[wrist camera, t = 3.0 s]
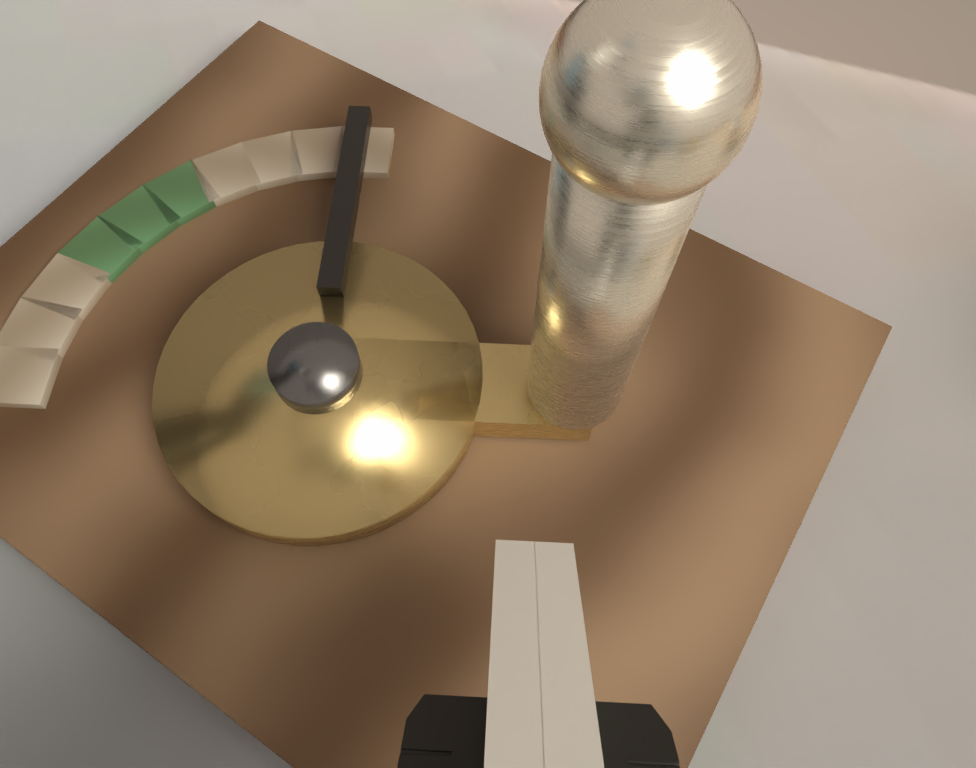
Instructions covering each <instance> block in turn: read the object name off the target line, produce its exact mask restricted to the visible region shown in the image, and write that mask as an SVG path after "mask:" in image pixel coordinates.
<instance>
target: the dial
mask: <svg viewBox="0 0 976 768" xmlns="http://www.w3.org/2000/svg"><path fill="white" fill-rule="evenodd" d="M761 92H762V64H761V59H760V53H759V49H758V45H757V42H756V39H755V37H754V34H753V32H752V30H751V27H750V25H749V23H748V22H747V20H746V19H745V17H744V16H743V14H742V13H741V11H740V10H739V8H738V7H737V6H736V5H735V4H734V3H733V2H732V1H731V0H583V1H582V2H581V3H580V4H579V5H578V6H577V7H576V8H575V9H574V10H573V11H572V12H571V13H570V15H569V16H568V17H567V19H566V20H565V21H564V23H563V24H562V26H561V27H560V28H559V30H558V32H557V33H556V35H555V37H554V39H553V41H552V43H551V45H550V47H549V49H548V52H547V55H546V58H545V61H544V65H543V68H542V73H541V79H540V86H539V110H540V117H541V123H542V127H543V131H544V134H545V137H546V139H547V142H548V144H549V147H550V149H551V151H552V159H551V168H550V177H549V186H548V195H547V204H546V213H545V222H544V231H543V240H542V249H541V258H540V267H539V276H538V284H537V293H536V302H535V311H534V320H533V329H532V338H531V345H518V344H494V343H479V341H478V338H477V335H476V332H475V329H474V326H473V324H472V322H471V320H470V318H469V316H468V314H467V312H466V310H465V308H464V307H463V305H462V304H461V303H460V301H459V300H458V298H457V297H456V295H455V294H454V293H453V292H452V291H451V290H450V289H449V288H448V286H447V285H446V284H445V283H444V282H443V281H442V280H440V279H439V278H438V277H437V276H436V275H434V274H433V273H432V272H431V271H430V270H428V269H427V268H425V267H423V266H422V265H420V264H419V263H417V262H416V261H414V260H412V259H410V258H408V257H406V256H403V255H401V254H399V253H397V252H394V251H391V250H388V249H385V248H382V247H379V246H374V245H369V244H365V243H359V242H353V238H354V231H355V225H356V219H357V212H358V206H359V200H360V193H361V187H362V181H363V174H364V168H365V162H366V155H367V149H368V143H369V136H370V130H371V124H372V113H371V108H370V106H349V107H348V113H347V118H346V124H345V129H344V135H343V141H342V146H341V152H340V157H339V163H338V168H337V174H336V180H335V185H334V191H333V196H332V202H331V208H330V213H329V219H328V224H327V230H326V236H325V241H318V242H310V243H302V244H297V245H293V246H289V247H284V248H281V249H278V250H275V251H272V252H269V253H266V254H263V255H261V256H259V257H257V258H254V259H252V260H250V261H248V262H246V263H244V264H242V265H240V266H239V267H237V268H235V269H234V270H232V271H230V272H229V273H227V274H226V275H224V276H223V277H222V278H220V279H219V280H218V281H216V282H215V283H214V284H212V285H211V286H210V287H209V288H208V289H207V290H206V291H205V292H203V293H202V294H201V295H200V296H199V297H198V298H197V299H196V300H195V301H194V303H193V304H192V305H191V306H190V307H189V308H188V310H187V311H186V312H185V313H184V314H183V316H182V317H181V319H180V320H179V322H178V323H177V325H176V326H175V328H174V329H173V331H172V333H171V335H170V337H169V338H168V340H167V342H166V344H165V346H164V348H163V351H162V354H161V357H160V360H159V363H158V365H157V369H156V374H155V379H154V384H153V395H152V413H153V424H154V429H155V433H156V437H157V441H158V445H159V447H160V449H161V452H162V454H163V456H164V459H165V461H166V463H167V465H168V466H169V468H170V469H171V471H172V473H173V474H174V476H175V477H176V479H177V480H178V481H179V483H180V484H181V485H182V486H183V487H184V488H185V489H186V490H187V492H188V493H189V494H190V495H191V496H192V497H193V498H195V499H196V500H197V501H198V502H199V503H201V504H202V505H203V506H204V507H206V508H207V509H208V510H209V511H211V512H212V513H213V514H214V515H216V516H217V517H218V518H219V519H221V520H222V521H224V522H226V523H227V524H229V525H231V526H232V527H234V528H236V529H237V530H239V531H242V532H244V533H247V534H249V535H251V536H254V537H256V538H259V539H263V540H267V541H271V542H275V543H279V544H287V545H295V546H326V545H333V544H340V543H347V542H350V541H354V540H357V539H361V538H365V537H368V536H371V535H373V534H375V533H378V532H380V531H383V530H385V529H387V528H390V527H392V526H393V525H395V524H397V523H399V522H400V521H402V520H404V519H406V518H407V517H409V516H411V515H412V514H413V513H415V512H416V511H417V510H419V509H420V508H421V507H423V506H424V505H425V504H427V503H428V502H429V501H430V500H431V499H432V498H433V497H434V496H435V495H436V494H437V493H438V492H439V491H440V490H441V489H442V488H443V487H444V486H445V485H446V483H447V482H448V481H449V480H450V478H451V477H452V476H453V475H454V473H455V472H456V471H457V469H458V468H459V466H460V464H461V463H462V461H463V459H464V458H465V456H466V454H467V452H468V450H469V448H470V445H471V443H472V441H473V438H474V436H494V437H516V438H538V439H560V440H582V441H589V438H590V435H591V432H592V429H593V427H595V426H597V425H599V424H601V423H603V422H604V421H606V420H607V419H608V418H609V417H610V416H611V415H612V414H613V413H614V412H615V410H616V409H617V407H618V405H619V403H620V400H621V398H622V395H623V393H624V390H625V388H626V385H627V383H628V380H629V378H630V375H631V373H632V370H633V368H634V365H635V363H636V360H637V358H638V355H639V353H640V350H641V348H642V345H643V343H644V340H645V338H646V335H647V333H648V330H649V328H650V325H651V323H652V320H653V318H654V315H655V313H656V310H657V308H658V305H659V303H660V300H661V298H662V295H663V293H664V290H665V288H666V285H667V283H668V280H669V278H670V275H671V273H672V270H673V268H674V266H675V263H676V261H677V258H678V256H679V253H680V251H681V248H682V246H683V243H684V241H685V238H686V236H687V233H688V231H689V228H690V226H691V223H692V221H693V218H694V216H695V213H696V211H697V208H698V206H699V203H700V201H701V198H702V196H703V193H704V191H705V188H706V186H707V184H709V183H710V182H711V181H713V180H714V179H715V178H716V177H717V176H718V175H719V174H721V173H722V172H723V171H724V170H725V169H726V168H727V167H728V166H729V165H730V163H731V162H732V161H733V159H734V158H735V157H736V155H737V154H738V153H739V152H740V150H741V149H742V147H743V145H744V143H745V142H746V140H747V138H748V136H749V134H750V132H751V130H752V128H753V125H754V122H755V119H756V116H757V113H758V110H759V105H760V99H761Z"/></svg>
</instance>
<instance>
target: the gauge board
mask: <svg viewBox="0 0 976 768" xmlns="http://www.w3.org/2000/svg"><path fill="white" fill-rule="evenodd" d="M349 106H370V108H371V113H372V124H371V130H370V136H369V143H368V149H367V155H366V162H365V168H364V174H363V181H362V187H361V193H360V200H359V206H358V212H357V219H356V225H355V231H354V238H353V242H359V243H365V244H369V245H374V246H379V247H382V248H385V249H388V250H391V251H394V252H397V253H399V254H401V255H403V256H406V257H408V258H410V259H412V260H414V261H416V262H417V263H419V264H420V265H422V266H423V267H425V268H427V269H428V270H430V271H431V272H432V273H433V274H434V275H436V276H437V277H438V278H439V279H440V280H442V281H443V282H444V283H445V284H446V285H447V286H448V288H449V289H450V290H451V291H452V292H453V293H454V294H455V295H456V297H457V298H458V300H459V301H460V303H461V304H462V305H463V307H464V308H465V310H466V312H467V314H468V316H469V318H470V320H471V322H472V324H473V326H474V329H475V332H476V335H477V338H478V341H479V343H494V344H518V345H531V338H532V329H533V320H534V311H535V302H536V293H537V284H538V276H539V267H540V258H541V249H542V240H543V231H544V222H545V213H546V204H547V195H548V186H549V177H550V168H551V161H548V160H546V159H544V158H542V157H540V156H538V155H536V154H534V153H532V152H530V151H528V150H526V149H524V148H522V147H520V146H517V145H515V144H513V143H511V142H509V141H507V140H505V139H503V138H501V137H499V136H497V135H495V134H493V133H491V132H489V131H486V130H484V129H482V128H480V127H478V126H476V125H474V124H472V123H470V122H468V121H466V120H464V119H462V118H460V117H458V116H455V115H453V114H451V113H449V112H447V111H445V110H443V109H441V108H439V107H437V106H435V105H433V104H431V103H429V102H427V101H424V100H422V99H420V98H418V97H416V96H414V95H412V94H410V93H408V92H406V91H404V90H402V89H400V88H398V87H396V86H393V85H391V84H389V83H387V82H385V81H383V80H381V79H379V78H377V77H375V76H373V75H371V74H369V73H367V72H365V71H362V70H360V69H358V68H356V67H354V66H352V65H350V64H348V63H346V62H344V61H342V60H340V59H338V58H336V57H334V56H331V55H329V54H327V53H325V52H323V51H321V50H319V49H317V48H315V47H313V46H311V45H309V44H307V43H305V42H303V41H300V40H298V39H296V38H294V37H292V36H290V35H288V34H286V33H284V32H282V31H280V30H278V29H276V28H274V27H272V26H269V25H267V24H265V23H263V22H261V21H258V22H257V23H256V24H255V25H254V26H252V27H251V28H250V29H249V30H248V31H247V32H246V33H244V34H243V35H242V36H241V37H240V38H239V39H238V40H236V41H235V42H234V43H233V44H232V45H231V46H230V47H228V48H227V49H226V50H225V51H224V52H223V53H222V54H220V55H219V56H218V57H217V58H216V59H215V60H214V61H212V62H211V63H210V64H209V65H208V66H207V67H206V68H204V69H203V70H202V71H201V72H200V73H199V74H198V75H196V76H195V77H194V78H193V79H192V80H191V81H190V82H188V83H187V84H186V85H185V86H184V87H183V88H182V89H181V90H179V91H178V92H177V93H176V94H175V95H174V96H173V97H171V98H170V99H169V100H168V101H167V102H166V103H165V104H163V105H162V106H161V107H160V108H159V109H158V110H157V111H155V112H154V113H153V114H152V115H151V116H150V117H149V118H147V119H146V120H145V121H144V122H143V123H142V124H141V125H139V126H138V127H137V128H136V129H135V130H134V131H133V132H131V133H130V134H129V135H128V136H127V137H126V138H125V139H123V140H122V141H121V142H120V143H119V144H118V145H117V146H115V147H114V148H113V149H112V150H111V151H110V152H109V153H107V154H106V155H105V156H104V157H103V158H102V159H101V160H99V161H98V162H97V163H96V164H95V165H94V166H93V167H92V168H90V169H89V170H88V171H87V172H86V173H85V174H84V175H82V176H81V177H80V178H79V179H78V180H77V181H76V182H74V183H73V184H72V185H71V186H70V187H69V188H68V189H66V190H65V191H64V192H63V193H62V194H61V195H60V196H58V197H57V198H56V199H55V200H54V201H53V202H52V203H50V204H49V205H48V206H47V207H46V208H45V209H44V210H42V211H41V212H40V213H39V214H38V215H37V216H36V217H34V218H33V219H32V220H31V221H30V222H29V223H28V224H26V225H25V226H24V227H23V228H22V229H21V230H20V231H18V232H17V233H16V234H15V235H14V236H13V237H12V238H10V239H9V240H8V241H7V242H6V243H5V244H4V245H2V246H1V247H0V537H1V538H2V539H4V540H5V541H6V542H8V543H9V544H10V545H11V546H13V547H14V548H15V549H16V550H18V551H19V552H20V553H22V554H23V555H24V556H25V557H27V558H28V559H29V560H30V561H32V562H33V563H34V564H36V565H37V566H38V567H39V568H41V569H42V570H43V571H44V572H46V573H47V574H48V575H50V576H51V577H52V578H53V579H55V580H56V581H57V582H58V583H60V584H61V585H62V586H63V587H65V588H66V589H67V590H69V591H70V592H71V593H72V594H74V595H75V596H76V597H77V598H79V599H80V600H81V601H83V602H84V603H85V604H86V605H88V606H89V607H90V608H91V609H93V610H94V611H95V612H97V613H98V614H99V615H100V616H102V617H103V618H104V619H105V620H107V621H108V622H109V623H111V624H112V625H113V626H114V627H116V628H117V629H118V630H119V631H121V632H122V633H123V634H125V635H126V636H127V637H128V638H130V639H131V640H132V641H133V642H135V643H136V644H137V645H138V646H140V647H141V648H142V649H144V650H145V651H146V652H147V653H149V654H150V655H151V656H152V657H154V658H155V659H156V660H158V661H159V662H160V663H161V664H163V665H164V666H165V667H166V668H168V669H169V670H170V671H172V672H173V673H174V674H175V675H177V676H178V677H179V678H180V679H182V680H183V681H184V682H186V683H187V684H188V685H189V686H191V687H192V688H193V689H194V690H196V691H197V692H198V693H200V694H201V695H202V696H203V697H205V698H206V699H207V700H208V701H210V702H211V703H212V704H213V705H215V706H216V707H217V708H219V709H220V710H221V711H222V712H224V713H225V714H226V715H227V716H229V717H230V718H231V719H233V720H234V721H235V722H236V723H238V724H239V725H240V726H241V727H243V728H244V729H245V730H247V731H248V732H249V733H250V734H252V735H253V736H254V737H255V738H257V739H258V740H259V741H261V742H262V743H263V744H264V745H266V746H267V747H268V748H269V749H271V750H272V751H273V752H275V753H276V754H277V755H278V756H280V757H281V758H282V759H283V760H285V761H286V762H287V763H289V764H290V765H291V766H292V767H294V768H397V765H398V760H399V755H400V752H401V744H402V739H403V734H404V728H405V723H406V718H407V717H408V716H409V714H410V713H411V712H412V710H413V709H414V707H415V706H416V705H417V703H418V702H419V701H420V699H421V698H422V697H423V695H424V694H433V695H451V696H470V697H488V678H489V659H490V640H491V620H492V601H493V582H494V563H495V544H496V540H515V541H535V542H556V543H573V544H574V551H575V559H576V566H577V573H578V580H579V588H580V595H581V602H582V609H583V617H584V624H585V631H586V638H587V646H588V653H589V660H590V667H591V675H592V682H593V689H594V696H595V701H600V702H619V703H637V704H651V705H652V706H653V707H654V709H655V710H656V711H657V713H658V714H659V715H660V717H661V718H662V719H663V721H664V722H665V723H666V724H667V726H668V727H669V728H670V730H671V731H672V735H673V739H674V743H675V747H676V750H677V754H678V758H679V766H680V768H688V766H689V764H690V762H691V759H692V757H693V755H694V753H695V751H696V749H697V747H698V744H699V742H700V740H701V738H702V736H703V734H704V731H705V729H706V727H707V725H708V723H709V721H710V718H711V716H712V714H713V712H714V710H715V708H716V706H717V703H718V701H719V699H720V697H721V695H722V693H723V690H724V688H725V686H726V684H727V682H728V680H729V678H730V675H731V673H732V671H733V669H734V667H735V665H736V662H737V660H738V658H739V656H740V654H741V652H742V649H743V647H744V645H745V643H746V641H747V639H748V637H749V634H750V632H751V630H752V628H753V626H754V624H755V621H756V619H757V617H758V615H759V613H760V611H761V609H762V606H763V604H764V602H765V600H766V598H767V596H768V593H769V591H770V589H771V587H772V585H773V583H774V580H775V578H776V576H777V574H778V572H779V570H780V568H781V565H782V563H783V561H784V559H785V557H786V555H787V552H788V550H789V548H790V546H791V544H792V542H793V540H794V537H795V535H796V533H797V531H798V529H799V527H800V524H801V522H802V520H803V518H804V516H805V514H806V511H807V509H808V507H809V505H810V503H811V501H812V499H813V496H814V494H815V492H816V490H817V488H818V486H819V483H820V481H821V479H822V477H823V475H824V473H825V471H826V468H827V466H828V464H829V462H830V460H831V458H832V455H833V453H834V451H835V449H836V447H837V445H838V442H839V440H840V438H841V436H842V434H843V432H844V430H845V427H846V425H847V423H848V421H849V419H850V417H851V414H852V412H853V410H854V408H855V406H856V404H857V402H858V399H859V397H860V395H861V393H862V391H863V389H864V386H865V384H866V382H867V380H868V378H869V376H870V373H871V371H872V369H873V367H874V365H875V363H876V361H877V358H878V356H879V354H880V352H881V350H882V348H883V345H884V343H885V341H886V339H887V337H888V335H889V333H890V330H891V328H892V326H890V325H888V324H885V323H883V322H881V321H879V320H877V319H875V318H873V317H871V316H869V315H867V314H865V313H863V312H861V311H859V310H856V309H854V308H852V307H850V306H848V305H846V304H844V303H842V302H840V301H838V300H836V299H834V298H832V297H830V296H828V295H825V294H823V293H821V292H819V291H817V290H815V289H813V288H811V287H809V286H807V285H805V284H803V283H801V282H799V281H797V280H794V279H792V278H790V277H788V276H786V275H784V274H782V273H780V272H778V271H776V270H774V269H772V268H770V267H768V266H766V265H763V264H761V263H759V262H757V261H755V260H753V259H751V258H749V257H747V256H745V255H743V254H741V253H739V252H737V251H735V250H732V249H730V248H728V247H726V246H724V245H722V244H720V243H718V242H716V241H714V240H712V239H710V238H708V237H706V236H704V235H701V234H699V233H697V232H695V231H693V230H691V229H689V231H688V233H687V236H686V238H685V241H684V243H683V246H682V248H681V251H680V253H679V256H678V258H677V261H676V263H675V266H674V268H673V270H672V273H671V275H670V278H669V280H668V283H667V285H666V288H665V290H664V293H663V295H662V298H661V300H660V303H659V305H658V308H657V310H656V313H655V315H654V318H653V320H652V323H651V325H650V328H649V330H648V333H647V335H646V338H645V340H644V343H643V345H642V348H641V350H640V353H639V355H638V358H637V360H636V363H635V365H634V368H633V370H632V373H631V375H630V378H629V380H628V383H627V385H626V388H625V390H624V393H623V395H622V398H621V400H620V403H619V405H618V407H617V409H616V410H615V412H614V413H613V414H612V415H611V416H610V417H609V418H608V419H607V420H606V421H604V422H603V423H601V424H599V425H597V426H595V427H593V429H592V432H591V435H590V438H589V441H582V440H560V439H538V438H516V437H494V436H474V438H473V441H472V443H471V445H470V448H469V450H468V452H467V454H466V456H465V458H464V459H463V461H462V463H461V464H460V466H459V468H458V469H457V471H456V472H455V473H454V475H453V476H452V477H451V478H450V480H449V481H448V482H447V483H446V485H445V486H444V487H443V488H442V489H441V490H440V491H439V492H438V493H437V494H436V495H435V496H434V497H433V498H432V499H431V500H430V501H429V502H428V503H427V504H425V505H424V506H423V507H421V508H420V509H419V510H417V511H416V512H415V513H413V514H412V515H411V516H409V517H407V518H406V519H404V520H402V521H400V522H399V523H397V524H395V525H393V526H392V527H390V528H387V529H385V530H383V531H380V532H378V533H375V534H373V535H371V536H368V537H365V538H361V539H357V540H354V541H350V542H347V543H340V544H333V545H326V546H295V545H287V544H279V543H275V542H271V541H267V540H263V539H259V538H256V537H254V536H251V535H249V534H247V533H244V532H242V531H239V530H237V529H236V528H234V527H232V526H231V525H229V524H227V523H226V522H224V521H222V520H221V519H219V518H218V517H217V516H216V515H214V514H213V513H212V512H211V511H209V510H208V509H207V508H206V507H204V506H203V505H202V504H201V503H199V502H198V501H197V500H196V499H195V498H193V497H192V496H191V495H190V494H189V493H188V492H187V490H186V489H185V488H184V487H183V486H182V485H181V484H180V483H179V481H178V480H177V479H176V477H175V476H174V474H173V473H172V471H171V469H170V468H169V466H168V465H167V463H166V461H165V459H164V456H163V454H162V452H161V449H160V447H159V445H158V441H157V437H156V433H155V429H154V424H153V413H152V395H153V384H154V379H155V374H156V369H157V365H158V363H159V360H160V357H161V354H162V351H163V348H164V346H165V344H166V342H167V340H168V338H169V337H170V335H171V333H172V331H173V329H174V328H175V326H176V325H177V323H178V322H179V320H180V319H181V317H182V316H183V314H184V313H185V312H186V311H187V310H188V308H189V307H190V306H191V305H192V304H193V303H194V301H195V300H196V299H197V298H198V297H199V296H200V295H201V294H202V293H203V292H205V291H206V290H207V289H208V288H209V287H210V286H211V285H212V284H214V283H215V282H216V281H218V280H219V279H220V278H222V277H223V276H224V275H226V274H227V273H229V272H230V271H232V270H234V269H235V268H237V267H239V266H240V265H242V264H244V263H246V262H248V261H250V260H252V259H254V258H257V257H259V256H261V255H263V254H266V253H269V252H272V251H275V250H278V249H281V248H284V247H289V246H293V245H297V244H302V243H310V242H318V241H325V236H326V230H327V224H328V219H329V213H330V208H331V202H332V196H333V191H334V185H335V180H336V174H337V168H338V163H339V157H340V152H341V146H342V141H343V135H344V129H345V124H346V118H347V113H348V107H349Z"/></svg>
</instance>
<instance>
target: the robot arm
mask: <svg viewBox="0 0 976 768" xmlns="http://www.w3.org/2000/svg"><path fill="white" fill-rule="evenodd" d="M397 768H680V766H679V758H678V754H677V750H676V747H675V743H674V739H673V735H672V731H671V730H670V728H669V727H668V726H667V724H666V723H665V722H664V721H663V719H662V718H661V717H660V715H659V714H658V713H657V711H656V710H655V709H654V707H653V706H652V705H651V704H637V703H619V702H600V701H595V696H594V689H593V682H592V675H591V667H590V660H589V653H588V646H587V638H586V631H585V624H584V617H583V609H582V602H581V595H580V588H579V580H578V573H577V566H576V559H575V551H574V544H573V543H556V542H535V541H515V540H496V544H495V563H494V582H493V601H492V620H491V640H490V659H489V678H488V697H470V696H451V695H433V694H424V695H423V697H422V698H421V699H420V701H419V702H418V703H417V705H416V706H415V707H414V709H413V710H412V712H411V713H410V714H409V716H408V717H407V718H406V723H405V728H404V734H403V739H402V744H401V752H400V755H399V760H398V765H397Z"/></svg>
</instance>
